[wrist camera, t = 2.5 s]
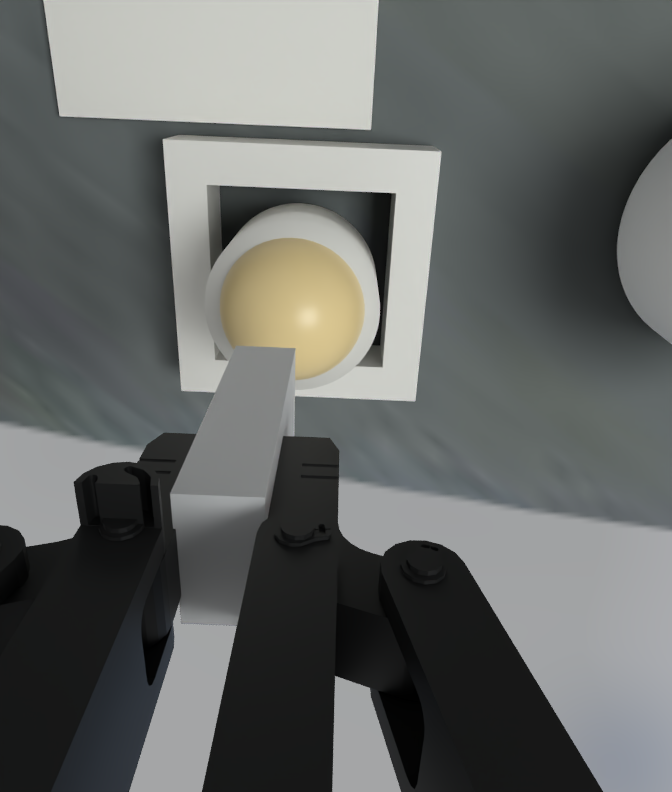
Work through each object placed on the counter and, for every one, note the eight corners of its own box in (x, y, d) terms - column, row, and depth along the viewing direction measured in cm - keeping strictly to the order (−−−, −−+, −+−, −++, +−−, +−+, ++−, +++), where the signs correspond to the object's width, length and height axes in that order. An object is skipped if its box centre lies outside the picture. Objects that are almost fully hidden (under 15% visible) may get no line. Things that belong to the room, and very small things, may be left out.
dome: (220, 199, 24) (183, 231, 18) (381, 206, 24) (390, 240, 18) (226, 349, 26) (195, 414, 21) (371, 355, 26) (376, 422, 21)
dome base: (179, 134, 25) (162, 139, 23) (433, 145, 25) (441, 151, 23) (194, 367, 29) (181, 390, 27) (410, 377, 29) (415, 401, 27)
